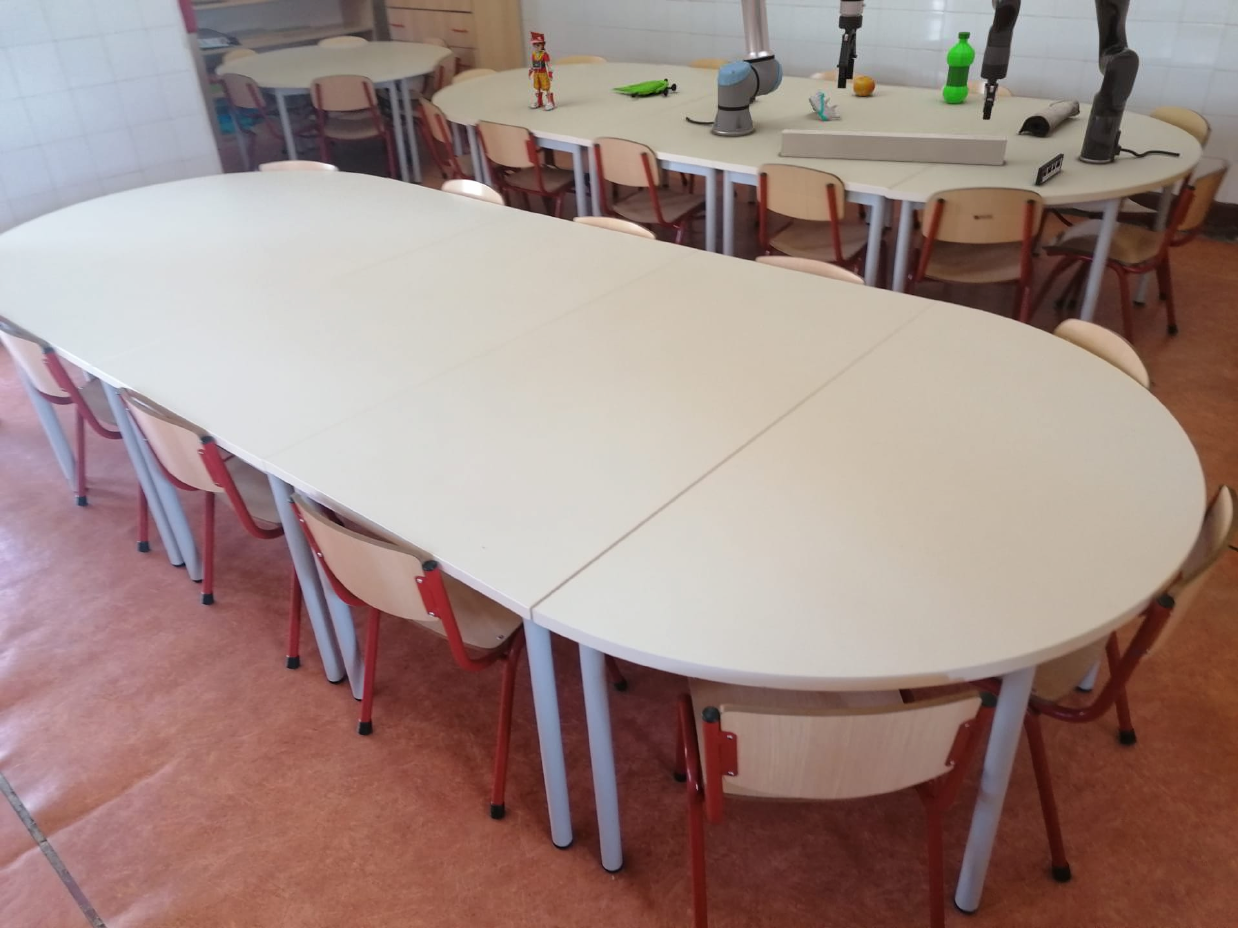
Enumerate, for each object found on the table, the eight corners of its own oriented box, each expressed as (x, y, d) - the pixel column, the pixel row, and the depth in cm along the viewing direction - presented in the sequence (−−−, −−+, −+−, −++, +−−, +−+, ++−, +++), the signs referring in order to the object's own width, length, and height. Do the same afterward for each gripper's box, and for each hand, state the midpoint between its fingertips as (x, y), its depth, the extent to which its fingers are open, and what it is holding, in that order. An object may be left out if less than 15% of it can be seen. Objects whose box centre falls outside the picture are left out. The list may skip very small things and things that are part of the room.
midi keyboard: (1039, 185, 269) (1043, 168, 266) (1035, 184, 270) (1038, 168, 267) (1060, 170, 279) (1064, 154, 277) (1056, 169, 280) (1060, 153, 277)
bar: (780, 156, 308) (781, 132, 304) (782, 152, 311) (784, 129, 307) (1002, 165, 287) (1007, 140, 283) (1002, 161, 291) (1007, 136, 286)
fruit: (848, 88, 368) (860, 70, 365) (850, 91, 375) (862, 74, 372) (865, 99, 366) (877, 81, 363) (867, 102, 374) (879, 85, 371)
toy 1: (525, 109, 381) (517, 32, 364) (534, 104, 388) (527, 28, 371) (550, 110, 377) (543, 32, 360) (559, 105, 384) (553, 28, 367)
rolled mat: (1047, 105, 331) (1071, 88, 323) (1061, 126, 332) (1085, 109, 324) (1014, 127, 314) (1039, 109, 306) (1028, 149, 314) (1054, 132, 306)
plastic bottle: (973, 101, 354) (984, 32, 339) (955, 106, 349) (966, 36, 335) (952, 97, 361) (962, 29, 346) (934, 102, 356) (944, 33, 342)
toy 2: (686, 85, 398) (631, 84, 414) (685, 72, 395) (629, 72, 411) (651, 104, 381) (596, 103, 397) (650, 92, 378) (594, 91, 394)
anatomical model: (804, 89, 349) (829, 82, 348) (807, 116, 355) (832, 109, 354) (814, 99, 336) (840, 91, 335) (817, 126, 342) (843, 119, 341)
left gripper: (856, 21, 282) (850, 92, 294) (868, 8, 301) (862, 76, 313) (832, 21, 285) (827, 92, 297) (846, 8, 303) (840, 75, 315)
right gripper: (1009, 66, 267) (999, 122, 277) (1008, 56, 278) (998, 111, 287) (982, 66, 269) (973, 121, 279) (982, 56, 280) (973, 110, 290)
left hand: (845, 84), depth 305 cm, fingers open, 13 cm apart
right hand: (986, 116), depth 283 cm, fingers open, 8 cm apart
